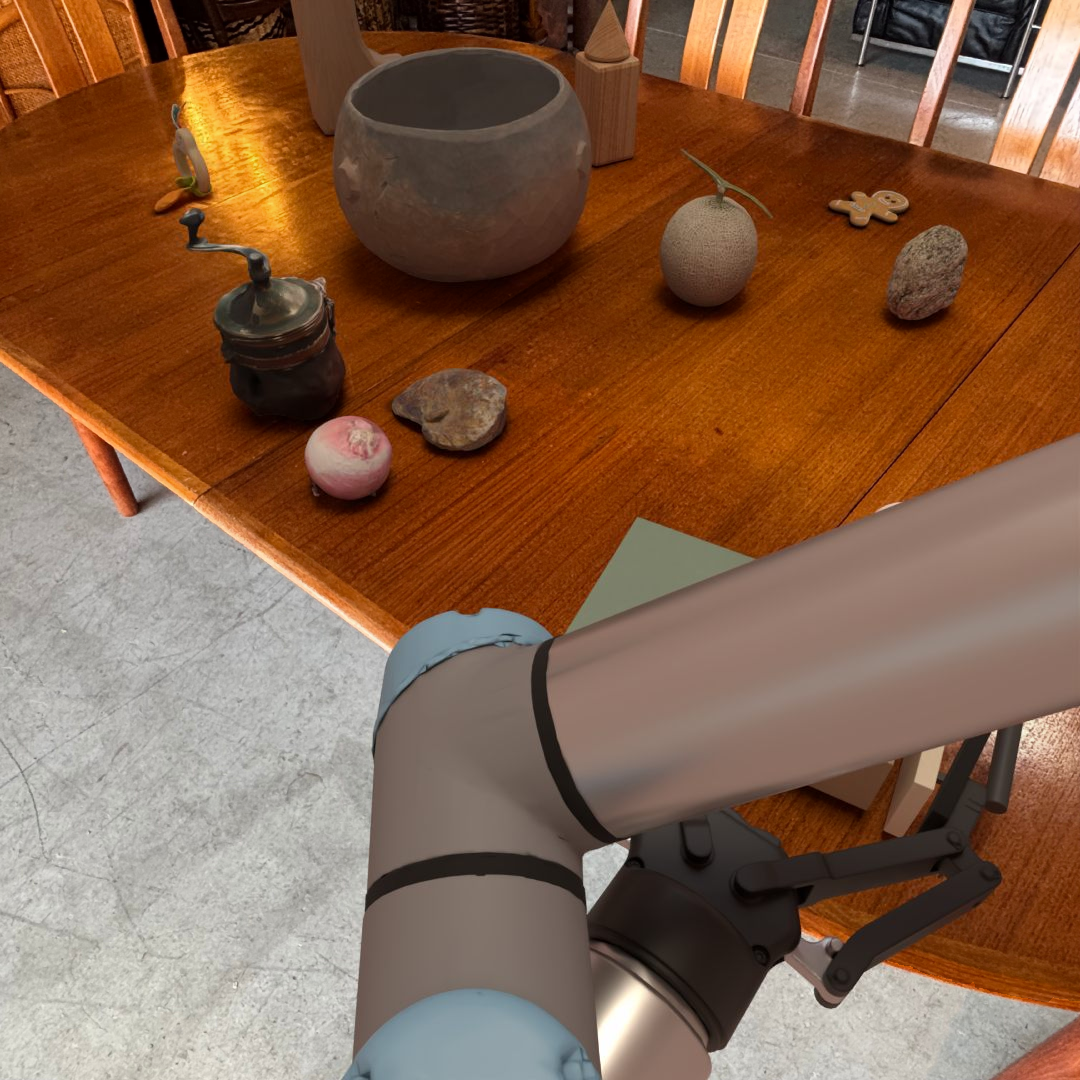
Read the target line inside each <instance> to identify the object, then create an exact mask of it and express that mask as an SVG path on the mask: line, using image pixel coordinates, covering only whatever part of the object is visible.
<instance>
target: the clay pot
mask: <svg viewBox="0 0 1080 1080" xmlns="http://www.w3.org/2000/svg"><path fill="white" fill-rule="evenodd" d="M333 138H334V139H333V150H332V178H333V186H334V190H335V196H336V198H337V201H338V206H339V208H340V209H341V211H342V213H343V215H344V217H345V219H346V221H347V223H348V225H349V226H350V228H351V229H352V230H353V233H354V234H355V236H356V237H357V238H358V239H359V240H360V242H361V243H362V244H363V245H364V247H365V248H366V249H368V250H369V251H370V252H371V253H373V254H374V255H375V256H377V257H378V258H379V259H380V260H382V261H383V262H384V263H386V264H388V265H390V266H391V267H393V268H395V269H398V270H399V271H401V272H404V273H405V274H408V275H410V276H413V277H415V278H418V279H422V280H427V281H432V282H440V283H441V282H442V283H460V282H461V283H463V282H476V281H478V282H479V281H486V280H493V279H498V278H503V277H507V276H512V275H514V274H517V273H520V272H522V271H525V270H527V269H529V268H531V267H534V266H535V265H538V264H540V263H541V262H543V261H544V260H546V259H548V258H549V257H551V256H552V255H554V254H555V253H556V252H557V251H558V250H559V249H560V248H561V247H562V246H563V245H564V244H565V243H566V242H567V240H568V239H569V238H570V237H571V235H572V233H573V232H574V231H575V229H576V228H577V226H578V224H579V221H580V219H581V217H582V215H583V212H584V209H585V206H586V203H587V198H588V197H587V195H588V190H589V186H590V185H589V184H590V179H591V170H592V164H591V163H592V158H591V140H590V133H589V128H588V124H587V121H586V117H585V113H584V111H583V109H582V106H581V104H580V102H579V99H578V97H577V95H576V93H575V89H574V88H573V86H572V85H571V84H570V82H569V80H568V79H567V78H566V77H565V75H564V74H563V73H562V72H561V71H560V70H559V69H558V68H557V67H555V66H553V65H552V64H550V63H548V62H546V61H544V60H542V59H540V58H538V57H536V56H534V55H530V54H526V53H523V52H519V51H515V50H509V49H504V48H494V47H479V46H478V47H477V46H476V47H475V46H469V47H468V46H464V47H463V46H462V47H451V48H449V47H448V48H439V49H432V50H426V51H420V52H415V53H411V54H406V55H404V56H403V55H402V57H400V58H397V59H393V60H390V61H388V62H386V63H383V64H381V65H379V66H377V67H375V68H374V69H372V70H371V71H369V72H367V73H366V74H364V75H363V76H362V77H361V78H359V79H358V80H357V81H356V82H355V83H354V84H353V85H352V86H351V88H350V89H349V90H348V92H347V94H346V96H345V99H344V101H343V104H342V106H341V109H340V112H339V116H338V121H337V125H336V130H335V134H334V137H333Z"/></svg>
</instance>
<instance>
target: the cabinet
mask: <svg viewBox="0 0 1080 1080" xmlns="http://www.w3.org/2000/svg"><path fill="white" fill-rule="evenodd" d="M756 559H757V558H754V557H751V556H748V555H746V554H743V553H740V552H737V551H735V550H732V549H728V548H727V547H726V548H725V547H723V546H720V545H717V544H715V543H712V542H710V541H707V540H704V539H702V538H698V537H695V536H693V535H690V534H687V533H684V532H682V531H679V530H676V529H673V528H670V527H667V526H665V525H662V524H659V523H656V522H654V521H650V520H648V519H645V518H642V517H639V516H636V518H635V520H634V521H633V523H632V524H631V527H630V528H629V529H628V531H627V532H626V534H625V536H624V537H623V539H622V541H621V542H620V544H619V545H618V547H617V549H616V551H615V552H614V554H613V555H612V557H611V558H610V560H609V561H608V563H607V565H606V566H605V568H604V570H603V571H602V573H601V575H600V576H599V578H598V579H597V581H596V582H595V584H594V586H593V587H592V589H591V591H590V592H589V594H588V595H587V597H586V598H585V600H584V601H583V603H582V605H581V606H580V608H579V610H578V611H577V613H576V614H575V616H574V617H573V619H572V621H571V623H570V625H569V626H568V627H567V629H566V630H565V632H564V634H567V633H569V632H572V631H575V630H577V629H580V628H582V627H585V626H587V625H590V624H592V623H595V622H598V621H600V620H603V619H605V618H608V617H610V616H613V615H615V614H618V613H620V612H623V611H626V610H628V609H631V608H633V607H636V606H638V605H641V604H643V603H646V602H649V601H651V600H654V599H656V598H659V597H661V596H664V595H666V594H669V593H671V592H674V591H677V590H679V589H682V588H684V587H687V586H689V585H692V584H694V583H697V582H700V581H702V580H705V579H707V578H710V577H712V576H715V575H717V574H720V573H722V572H725V571H728V570H730V569H733V568H735V567H738V566H740V565H743V564H745V563H748V562H751V561H753V560H756Z"/></svg>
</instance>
